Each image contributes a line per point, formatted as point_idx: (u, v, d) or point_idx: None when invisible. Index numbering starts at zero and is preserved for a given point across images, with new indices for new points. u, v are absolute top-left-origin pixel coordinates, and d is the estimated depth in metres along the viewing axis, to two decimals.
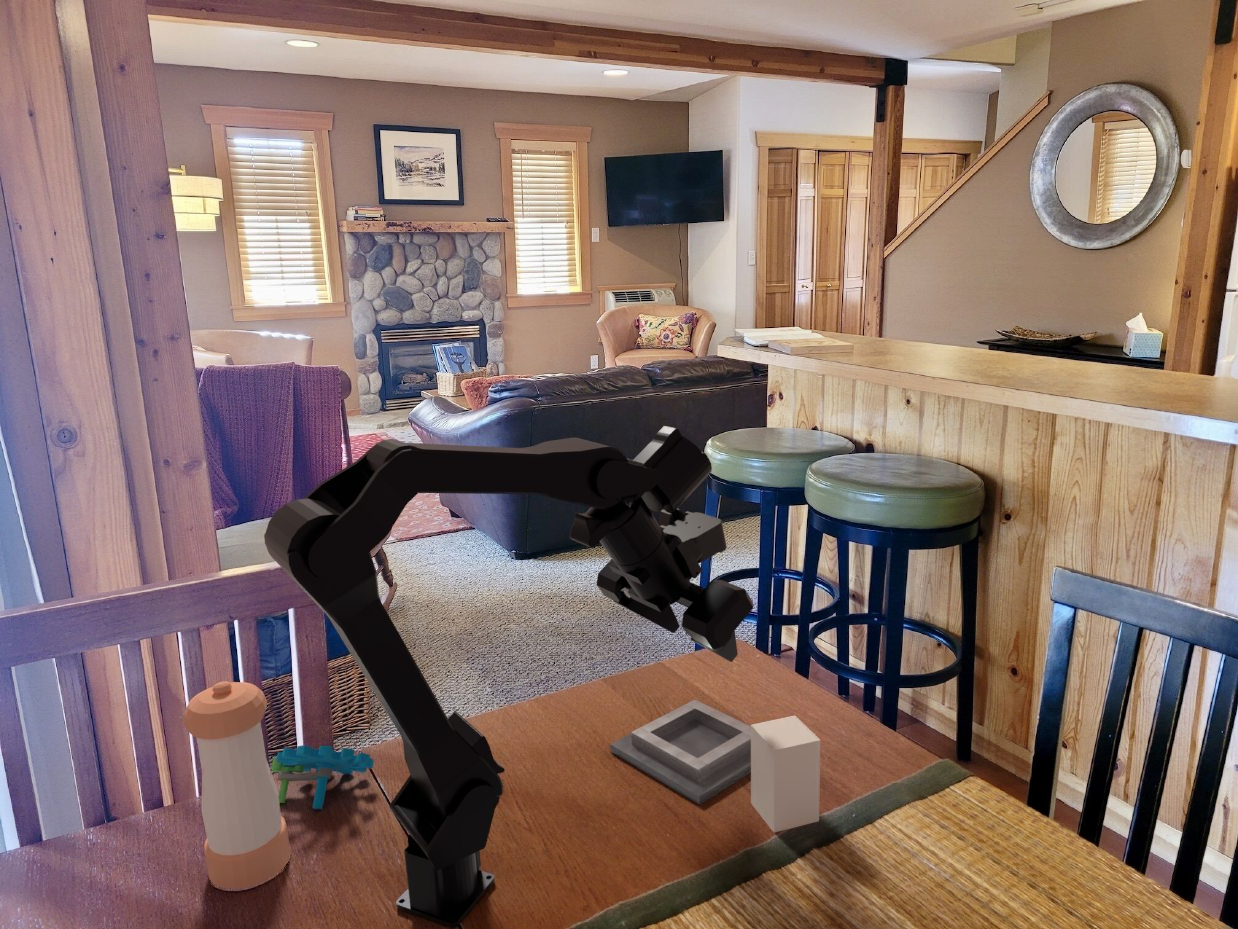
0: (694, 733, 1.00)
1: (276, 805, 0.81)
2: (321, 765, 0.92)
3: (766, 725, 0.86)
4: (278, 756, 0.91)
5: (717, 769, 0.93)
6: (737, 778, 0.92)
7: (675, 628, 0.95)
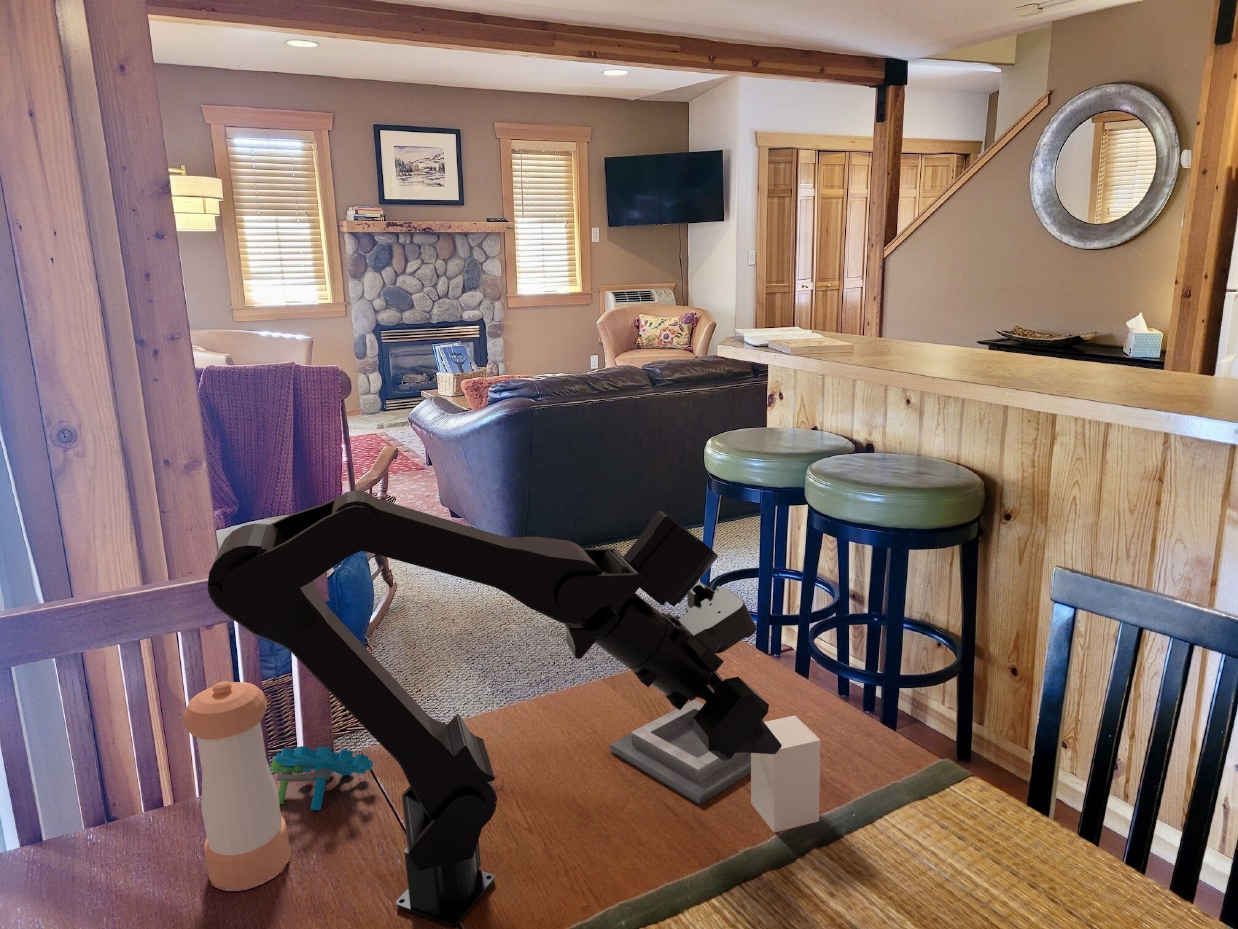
0: (694, 733, 1.00)
1: (276, 805, 0.81)
2: (320, 766, 0.92)
3: (766, 725, 0.86)
4: (277, 756, 0.91)
5: (717, 769, 0.93)
6: (737, 778, 0.92)
7: None
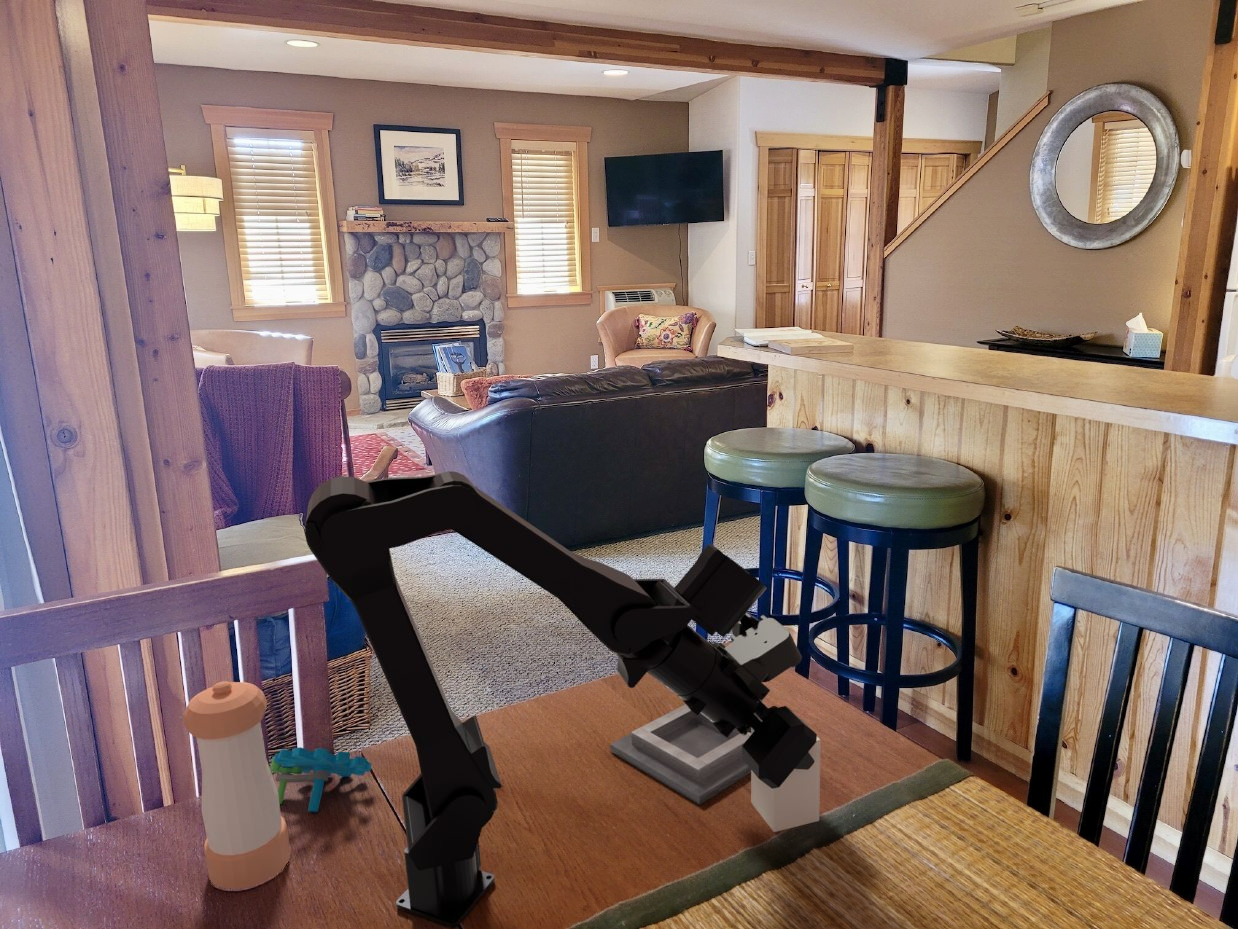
0: (694, 733, 1.00)
1: (276, 805, 0.81)
2: (318, 767, 0.91)
3: None
4: (275, 757, 0.91)
5: (717, 769, 0.93)
6: (737, 778, 0.92)
7: None
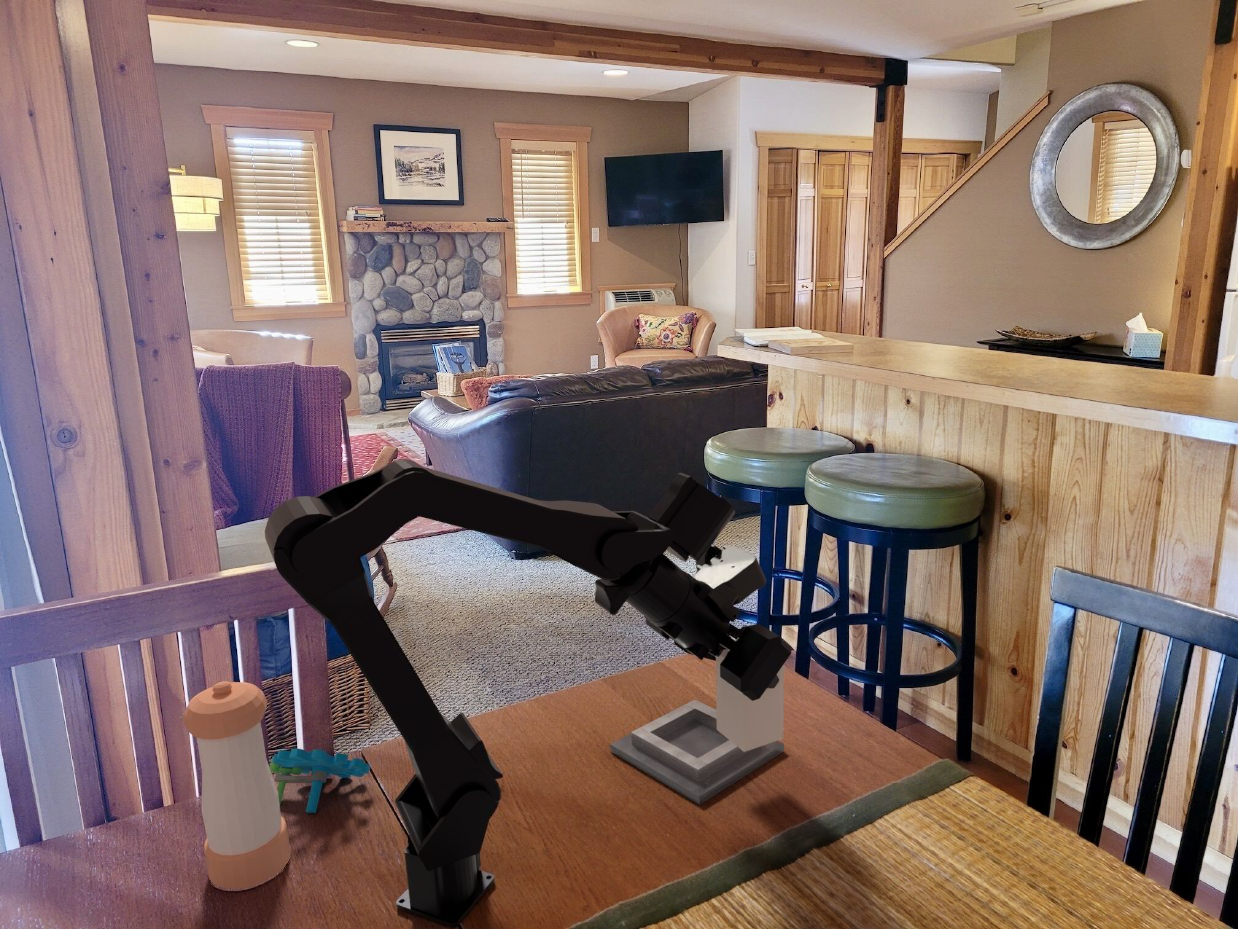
0: (694, 733, 1.00)
1: (276, 805, 0.81)
2: (316, 768, 0.91)
3: None
4: (274, 757, 0.91)
5: (717, 769, 0.93)
6: (737, 778, 0.92)
7: None
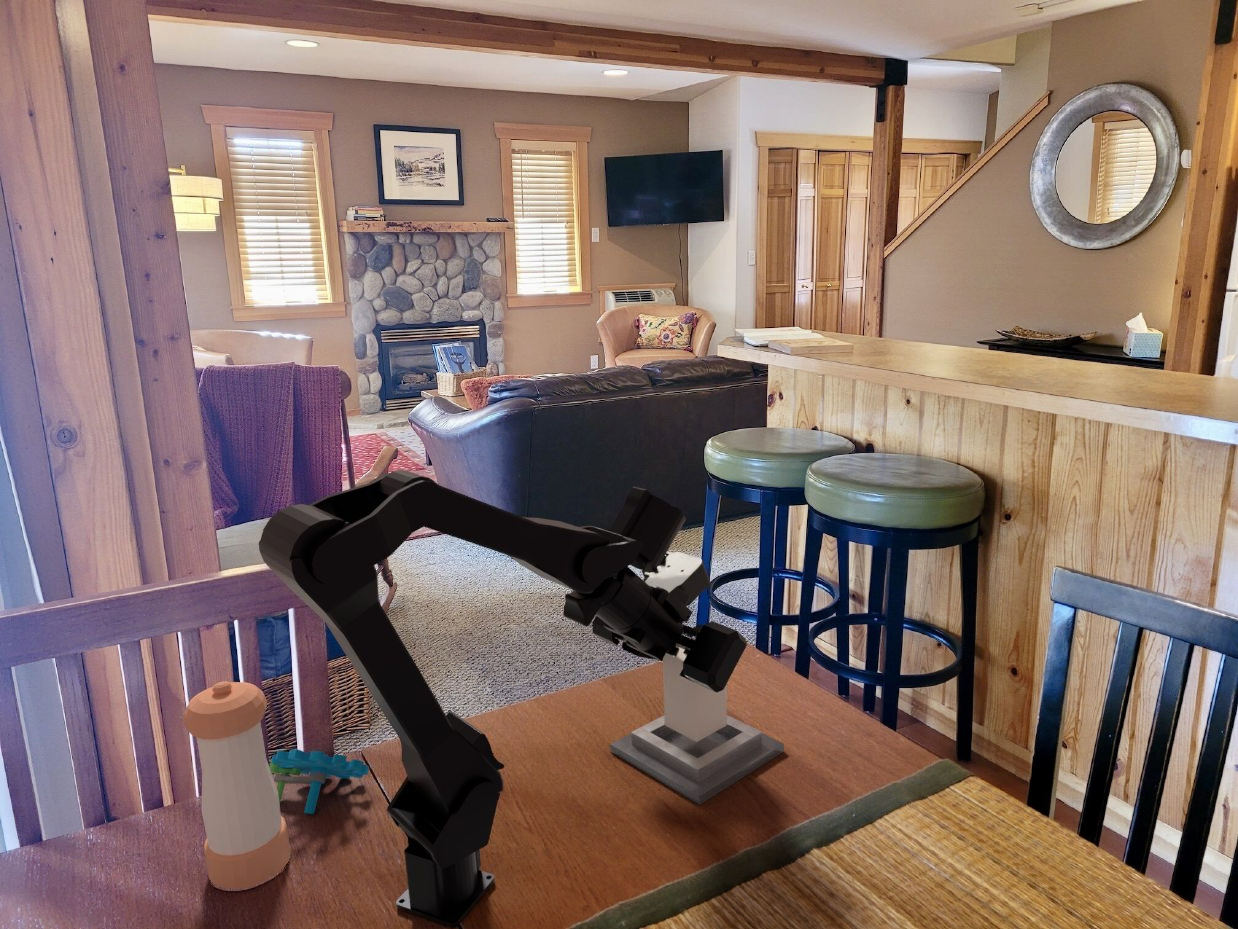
0: None
1: (276, 805, 0.81)
2: (315, 769, 0.91)
3: None
4: (273, 758, 0.91)
5: (717, 769, 0.93)
6: (737, 778, 0.92)
7: None
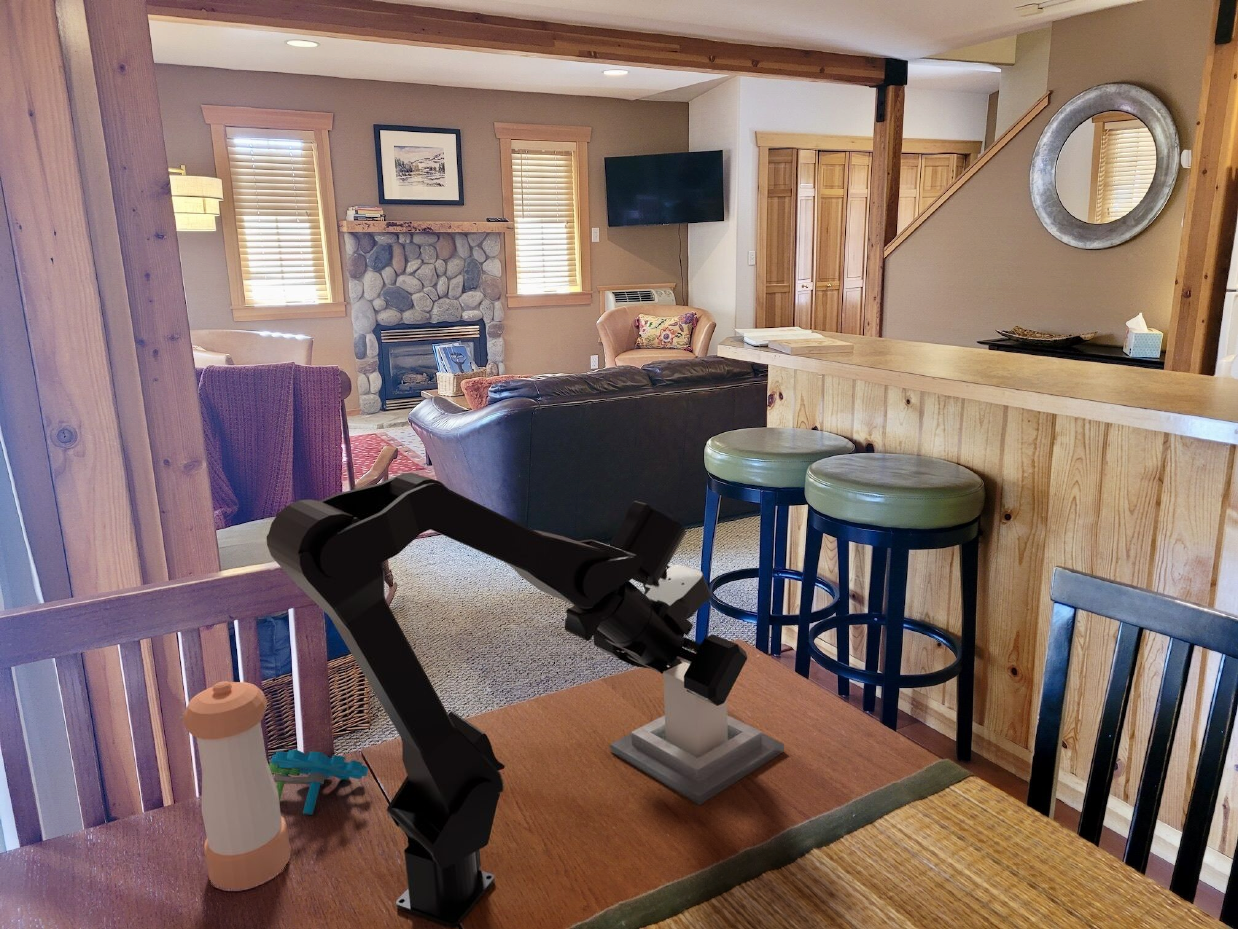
0: None
1: (276, 805, 0.81)
2: (314, 770, 0.91)
3: (676, 669, 0.97)
4: (272, 758, 0.91)
5: (717, 769, 0.93)
6: (737, 778, 0.92)
7: None
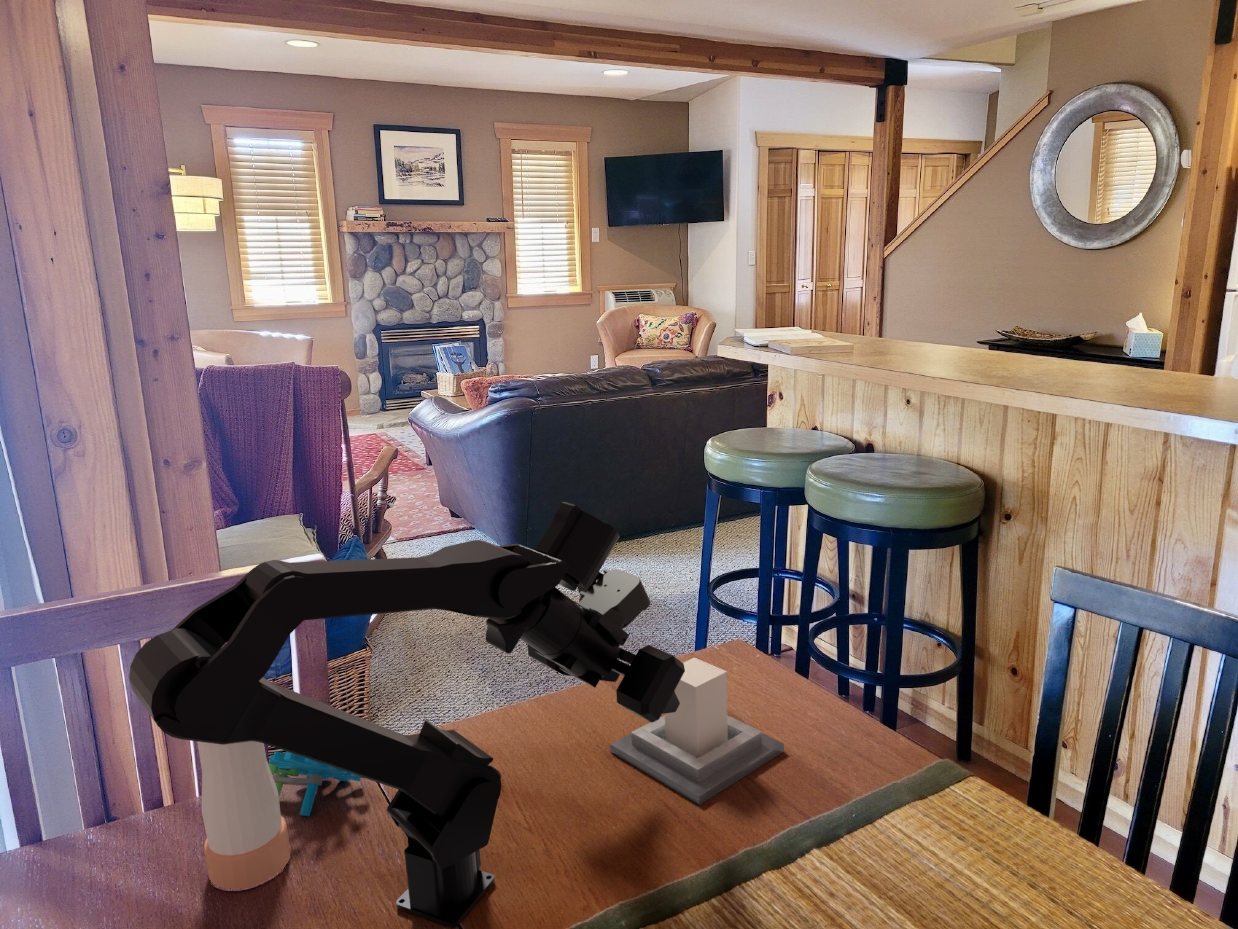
0: None
1: (276, 805, 0.81)
2: (312, 771, 0.91)
3: None
4: (271, 759, 0.91)
5: (717, 769, 0.93)
6: (737, 778, 0.92)
7: (616, 677, 0.94)
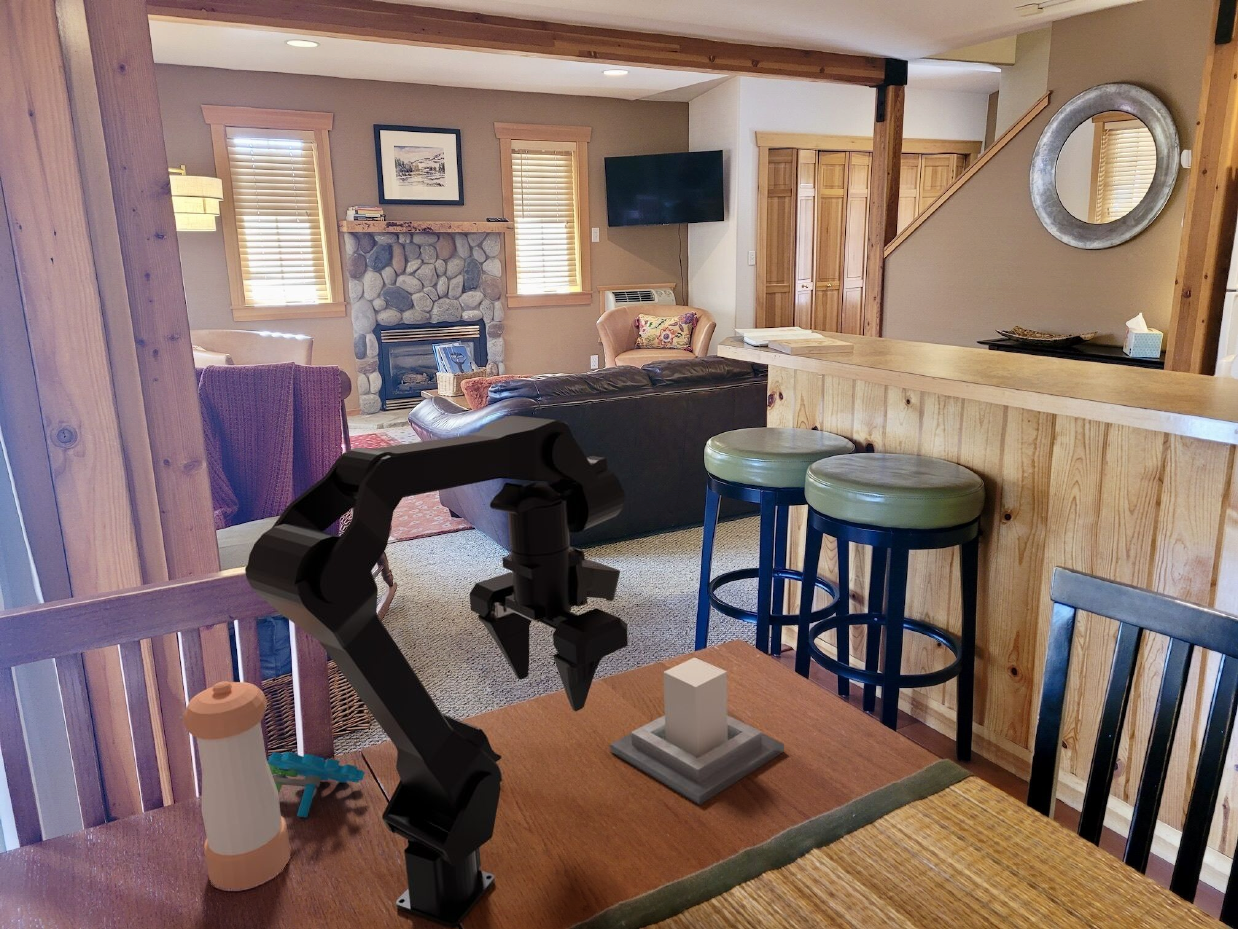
0: None
1: (276, 805, 0.81)
2: (310, 772, 0.90)
3: (676, 669, 0.97)
4: (269, 759, 0.91)
5: (717, 769, 0.93)
6: (737, 778, 0.92)
7: (523, 675, 0.90)
